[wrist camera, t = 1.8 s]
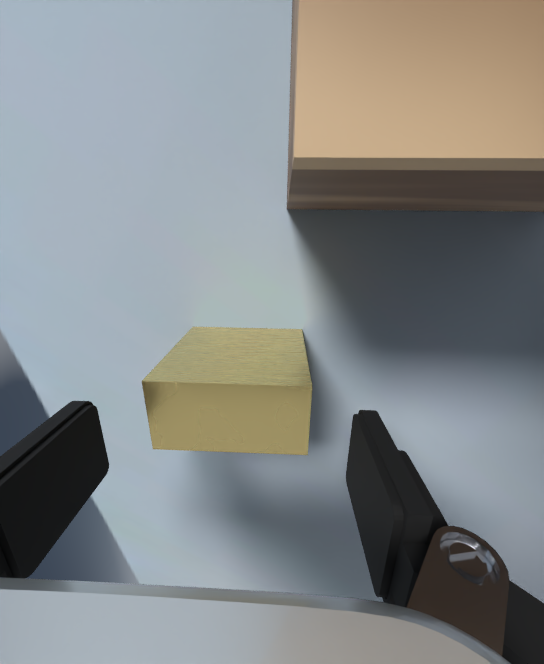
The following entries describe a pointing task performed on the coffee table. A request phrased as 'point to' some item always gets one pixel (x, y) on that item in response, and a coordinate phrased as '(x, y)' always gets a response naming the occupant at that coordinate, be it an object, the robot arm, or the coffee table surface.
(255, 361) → the brushed brass block
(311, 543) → the coffee table surface
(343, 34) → the box
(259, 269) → the coffee table surface
